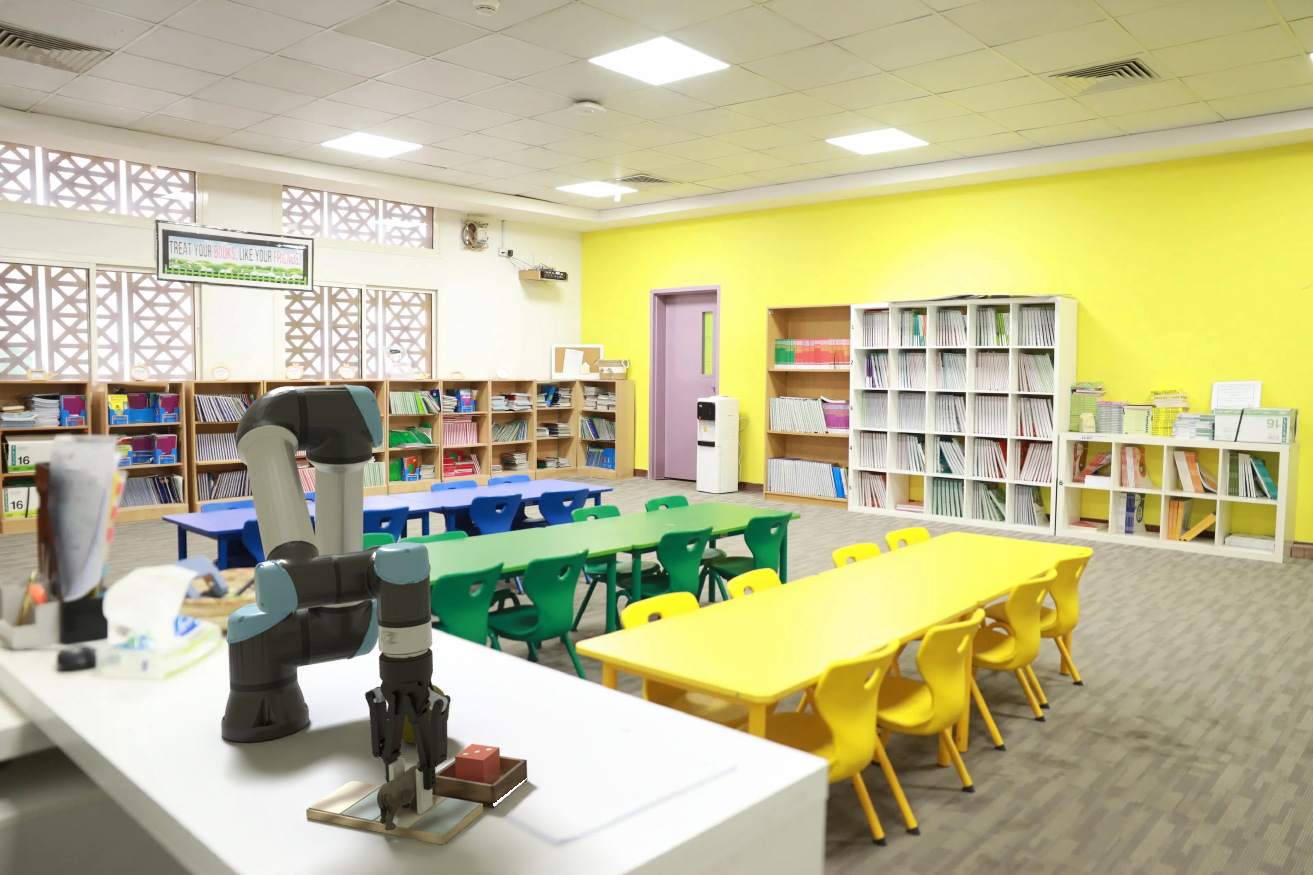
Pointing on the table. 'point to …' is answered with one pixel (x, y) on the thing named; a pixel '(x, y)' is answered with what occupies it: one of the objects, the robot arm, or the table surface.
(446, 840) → the board
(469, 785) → the dice tray
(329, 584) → the robot arm
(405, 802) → the rhino figurine
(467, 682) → the table surface
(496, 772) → the die
